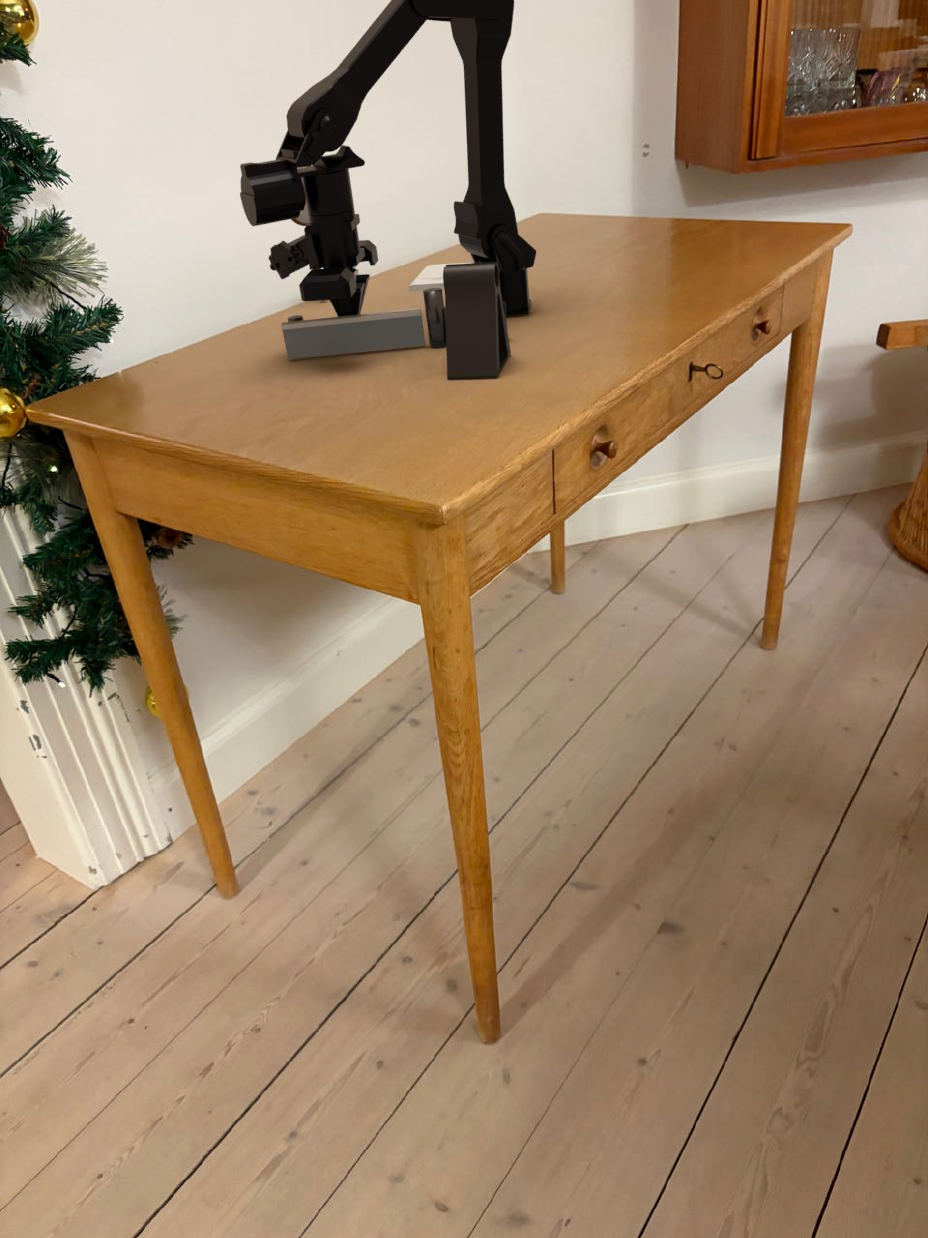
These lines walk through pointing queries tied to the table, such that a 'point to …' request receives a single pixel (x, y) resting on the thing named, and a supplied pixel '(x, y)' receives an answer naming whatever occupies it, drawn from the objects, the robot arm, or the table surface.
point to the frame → (428, 317)
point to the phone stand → (474, 321)
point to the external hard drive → (430, 278)
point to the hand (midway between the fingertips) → (351, 336)
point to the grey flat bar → (353, 333)
